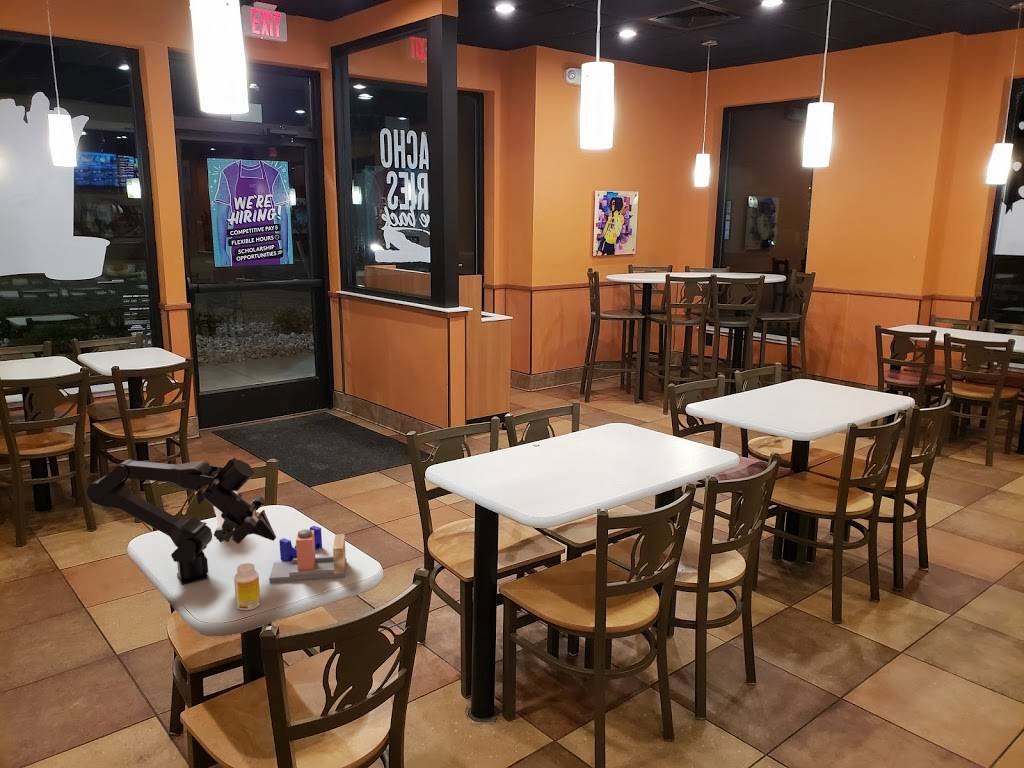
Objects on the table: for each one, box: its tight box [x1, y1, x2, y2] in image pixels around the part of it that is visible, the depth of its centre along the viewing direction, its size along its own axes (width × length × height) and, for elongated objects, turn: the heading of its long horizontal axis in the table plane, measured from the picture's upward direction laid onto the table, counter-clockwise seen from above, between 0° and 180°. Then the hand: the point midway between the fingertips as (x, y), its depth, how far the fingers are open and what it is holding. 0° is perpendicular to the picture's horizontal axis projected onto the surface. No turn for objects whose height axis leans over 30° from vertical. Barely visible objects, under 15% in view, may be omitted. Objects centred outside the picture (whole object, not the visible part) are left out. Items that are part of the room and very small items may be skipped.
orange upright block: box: [295, 529, 317, 571], centre depth 200 cm, size 4×6×10 cm, turn 9°
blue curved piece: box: [279, 525, 323, 562], centre depth 213 cm, size 12×4×6 cm, turn 144°
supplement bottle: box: [233, 562, 261, 611], centre depth 184 cm, size 6×6×10 cm
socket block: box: [332, 533, 347, 574], centre depth 202 cm, size 2×9×7 cm, turn 9°
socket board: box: [268, 555, 348, 583], centre depth 202 cm, size 19×9×2 cm, turn 99°
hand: (274, 538), depth 198 cm, fingers closed
